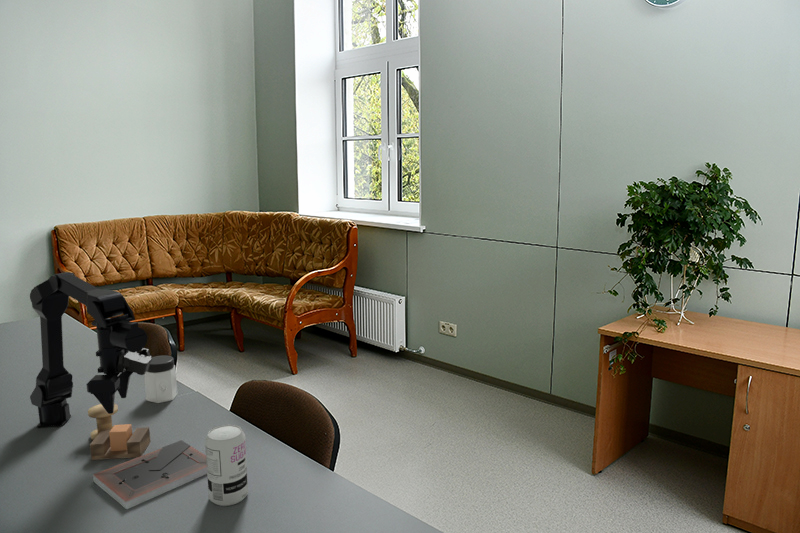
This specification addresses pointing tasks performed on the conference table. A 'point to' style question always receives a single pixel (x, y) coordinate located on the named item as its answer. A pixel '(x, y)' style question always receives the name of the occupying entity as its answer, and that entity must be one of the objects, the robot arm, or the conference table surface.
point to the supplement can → (226, 465)
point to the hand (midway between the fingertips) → (117, 405)
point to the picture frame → (152, 474)
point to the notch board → (134, 449)
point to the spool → (101, 418)
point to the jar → (161, 379)
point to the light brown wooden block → (120, 437)
